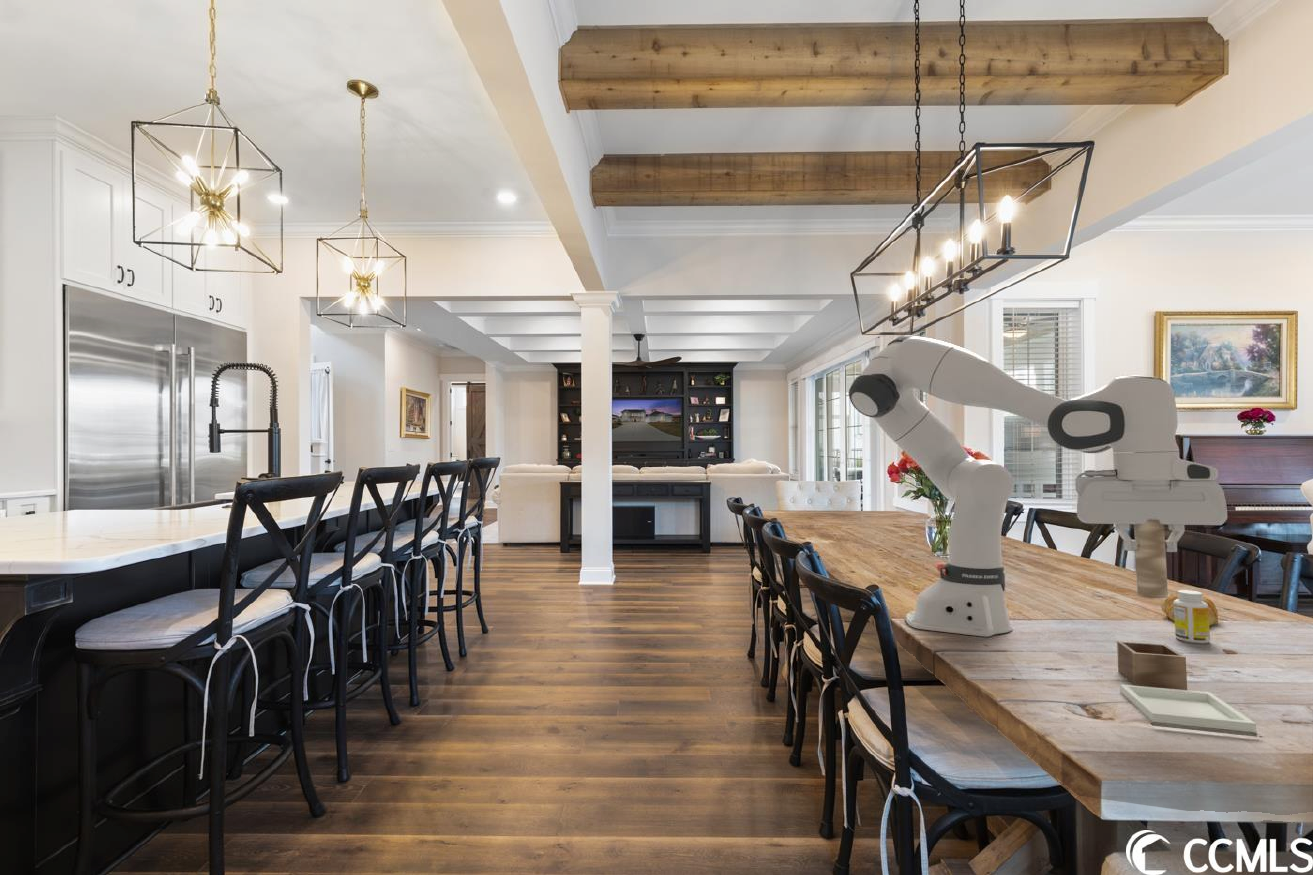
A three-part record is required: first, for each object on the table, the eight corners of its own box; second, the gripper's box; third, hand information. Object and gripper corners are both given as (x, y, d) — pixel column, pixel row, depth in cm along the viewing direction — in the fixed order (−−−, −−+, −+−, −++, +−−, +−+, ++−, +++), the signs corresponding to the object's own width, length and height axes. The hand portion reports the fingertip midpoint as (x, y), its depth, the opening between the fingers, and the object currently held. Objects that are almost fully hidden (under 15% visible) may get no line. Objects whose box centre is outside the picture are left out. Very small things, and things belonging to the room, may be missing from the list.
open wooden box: (1135, 689, 103) (1133, 653, 103) (1118, 674, 110) (1117, 641, 110) (1187, 693, 101) (1185, 657, 101) (1166, 678, 107) (1165, 644, 108)
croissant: (1206, 647, 136) (1227, 618, 133) (1153, 620, 142) (1173, 591, 139) (1206, 625, 151) (1225, 599, 149) (1159, 601, 157) (1176, 575, 155)
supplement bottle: (1212, 640, 129) (1210, 592, 129) (1207, 646, 125) (1204, 596, 126) (1178, 635, 133) (1176, 588, 134) (1172, 640, 130) (1170, 591, 130)
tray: (1153, 725, 89) (1152, 713, 89) (1120, 695, 100) (1119, 684, 100) (1256, 736, 85) (1256, 723, 85) (1210, 703, 97) (1210, 692, 97)
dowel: (1143, 597, 102) (1139, 519, 102) (1133, 592, 106) (1129, 517, 106) (1172, 598, 101) (1168, 519, 101) (1161, 593, 104) (1157, 517, 105)
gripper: (1080, 470, 104) (1084, 551, 104) (1230, 468, 98) (1235, 555, 97) (1069, 469, 110) (1072, 546, 110) (1209, 468, 104) (1213, 550, 103)
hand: (1150, 551), depth 103 cm, fingers closed on dowel, 4 cm apart
